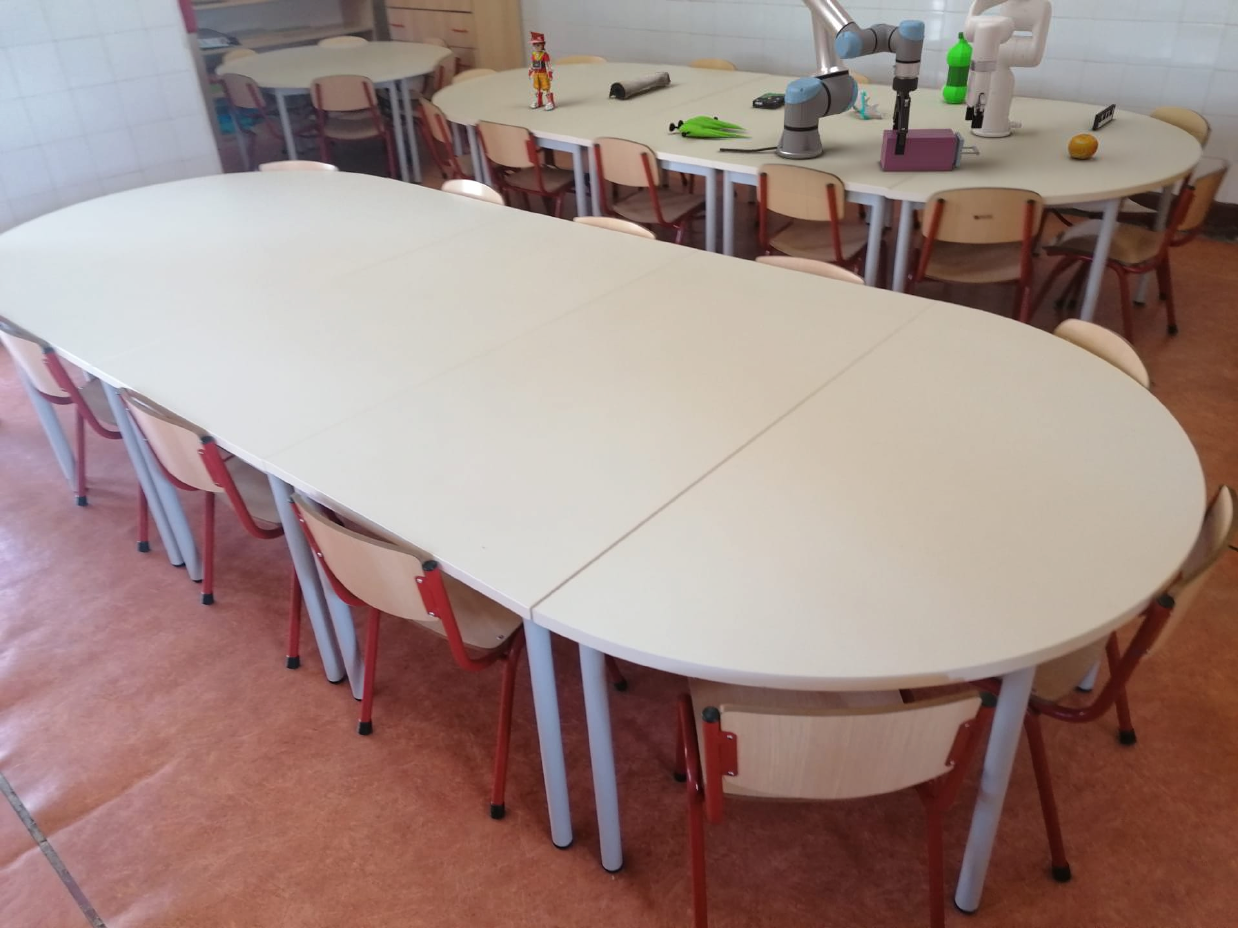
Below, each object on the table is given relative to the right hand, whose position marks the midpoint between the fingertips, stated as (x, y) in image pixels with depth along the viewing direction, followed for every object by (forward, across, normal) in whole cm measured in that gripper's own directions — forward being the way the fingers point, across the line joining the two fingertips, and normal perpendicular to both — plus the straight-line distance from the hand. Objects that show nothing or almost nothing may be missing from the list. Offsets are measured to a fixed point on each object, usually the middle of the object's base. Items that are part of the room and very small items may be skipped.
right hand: (973, 124), depth 282 cm
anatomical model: (+13, -66, -26) cm, 72 cm away
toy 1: (+13, -89, -158) cm, 182 cm away
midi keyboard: (+13, -45, +54) cm, 72 cm away
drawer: (+12, 0, -10) cm, 15 cm away
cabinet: (+13, 0, -16) cm, 20 cm away
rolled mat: (+13, -113, -118) cm, 164 cm away
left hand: (+7, 0, -22) cm, 24 cm away
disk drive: (+13, -86, -62) cm, 106 cm away
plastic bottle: (+13, -83, +10) cm, 84 cm away
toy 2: (+13, -43, -84) cm, 95 cm away
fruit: (+13, -6, +36) cm, 39 cm away
